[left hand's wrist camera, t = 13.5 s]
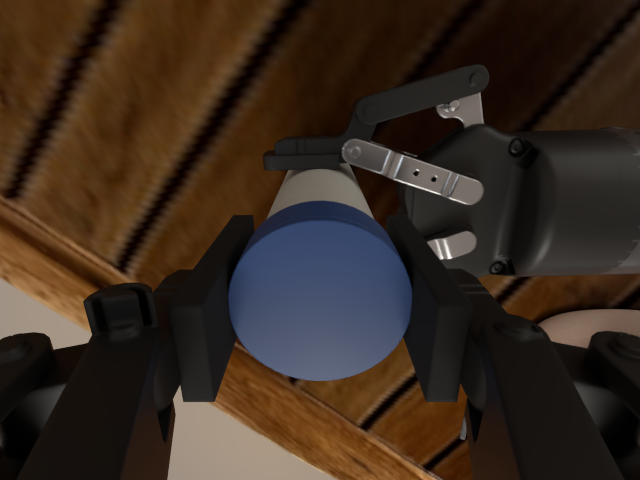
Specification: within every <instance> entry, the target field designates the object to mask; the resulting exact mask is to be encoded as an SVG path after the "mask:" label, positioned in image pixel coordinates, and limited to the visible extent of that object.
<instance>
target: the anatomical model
mask: <svg viewBox="0 0 640 480" xmlns="http://www.w3.org/2000/svg"><path fill="white" fill-rule="evenodd" d="M537 325H539V326H540V327H542V328H543V330H544V331H545V332H546V333H547V334H548V336H549V338H550V340H551V341H553V342H557V343H562V344H567V345H573V346H578V347H583V348H588V345H589V342H590V339H591V336H592V335H594V334H595V333H596V332H601V331H614V332H624V333H628V334H629V335H630V334H632V335H635V336H638V337H640V311H639V310H625V309H596V310H581V311H574V312H567V313H563V314H559V315H555V316H553V317H550V318H548V319H546V320H544V321H542V322H541V323H539V324H537Z"/></svg>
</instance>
